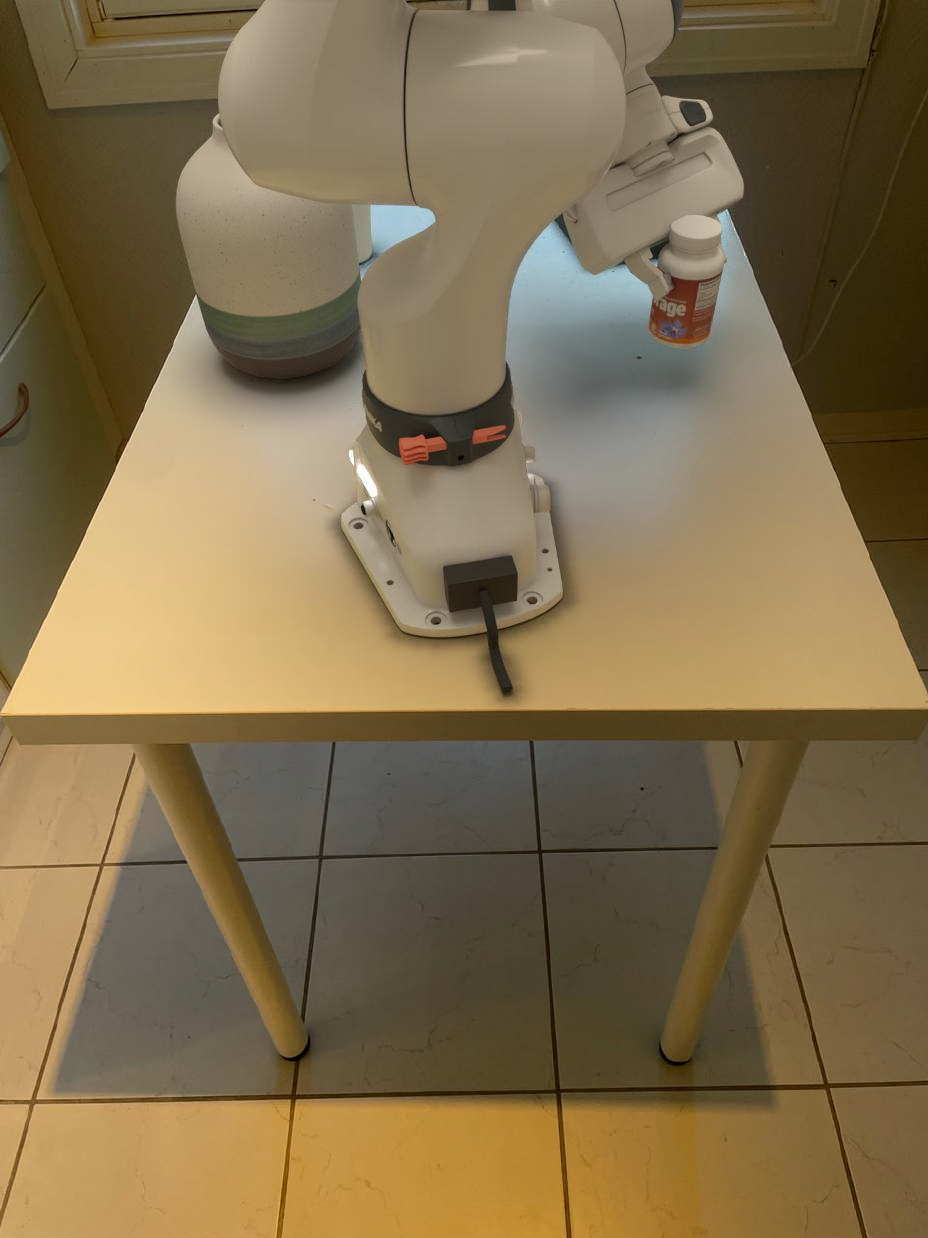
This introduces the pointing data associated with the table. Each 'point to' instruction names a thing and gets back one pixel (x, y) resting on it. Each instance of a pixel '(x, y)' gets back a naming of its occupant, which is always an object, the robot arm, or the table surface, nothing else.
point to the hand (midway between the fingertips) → (692, 280)
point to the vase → (267, 267)
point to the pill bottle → (688, 283)
